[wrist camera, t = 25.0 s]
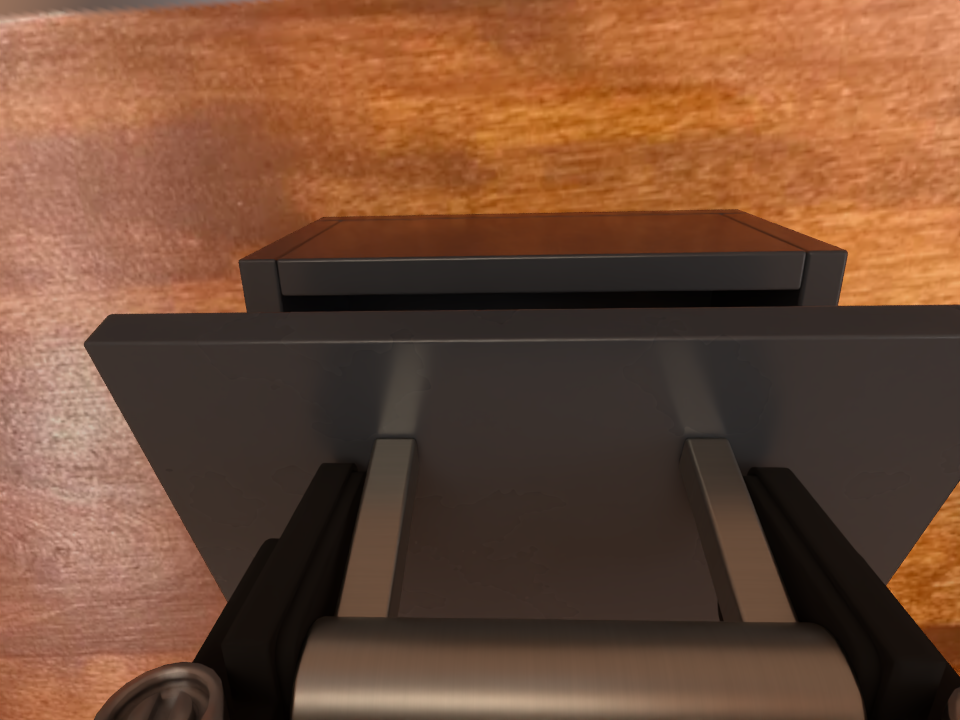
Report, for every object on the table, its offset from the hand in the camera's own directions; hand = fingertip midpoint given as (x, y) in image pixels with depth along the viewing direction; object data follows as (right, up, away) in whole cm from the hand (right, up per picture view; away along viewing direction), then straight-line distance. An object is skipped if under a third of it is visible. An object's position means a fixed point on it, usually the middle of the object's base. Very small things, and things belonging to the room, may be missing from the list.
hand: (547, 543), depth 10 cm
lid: (0, -2, +4) cm, 4 cm away
